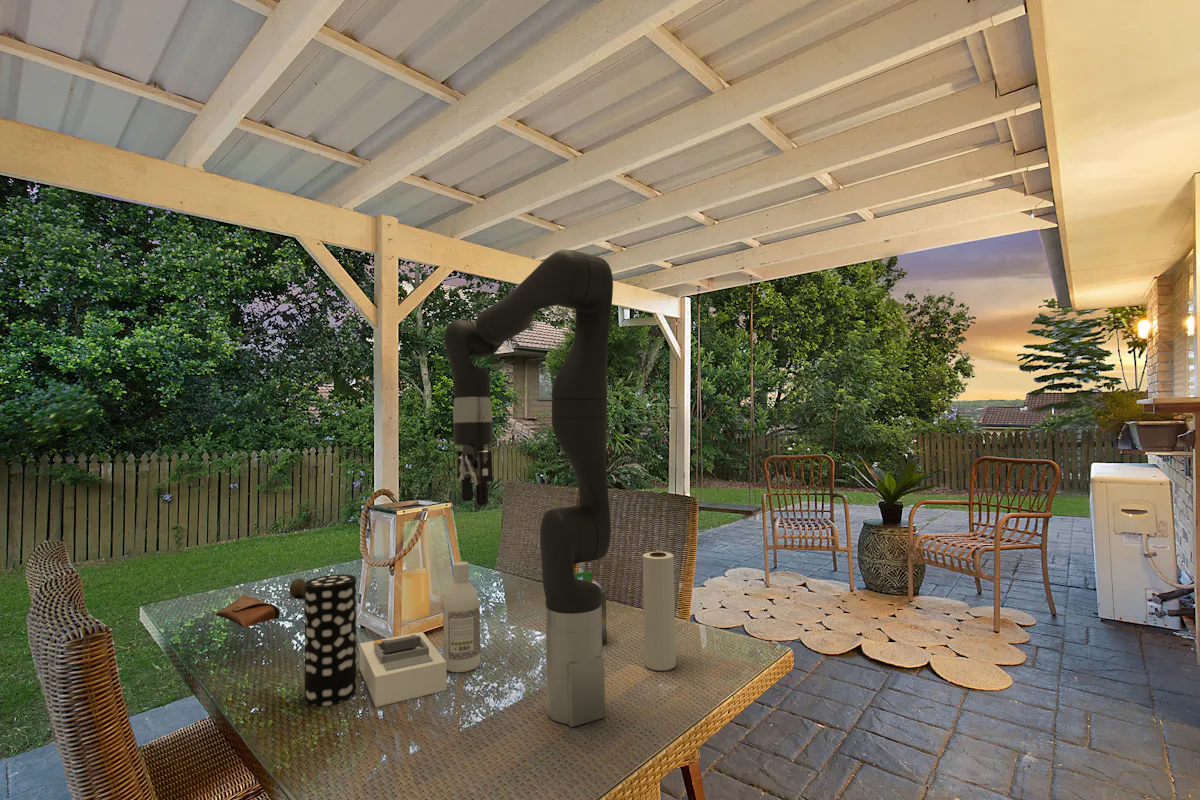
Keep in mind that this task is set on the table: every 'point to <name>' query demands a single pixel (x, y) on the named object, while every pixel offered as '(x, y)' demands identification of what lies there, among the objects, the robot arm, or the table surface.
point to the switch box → (402, 671)
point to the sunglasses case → (249, 611)
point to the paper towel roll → (659, 610)
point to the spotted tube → (330, 639)
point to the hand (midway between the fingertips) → (474, 502)
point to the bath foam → (461, 623)
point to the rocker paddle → (401, 643)
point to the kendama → (297, 588)
